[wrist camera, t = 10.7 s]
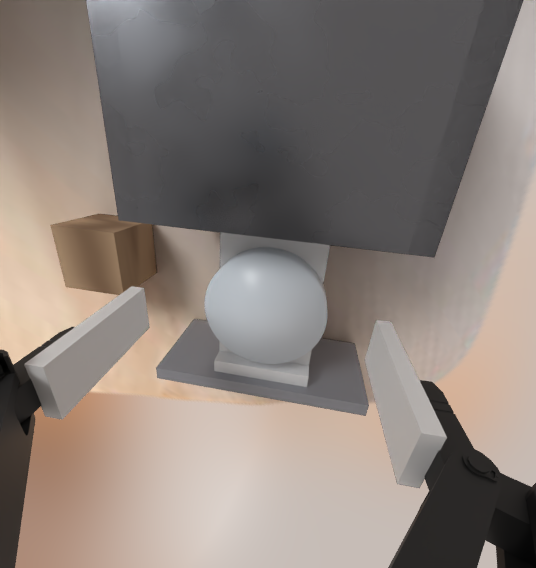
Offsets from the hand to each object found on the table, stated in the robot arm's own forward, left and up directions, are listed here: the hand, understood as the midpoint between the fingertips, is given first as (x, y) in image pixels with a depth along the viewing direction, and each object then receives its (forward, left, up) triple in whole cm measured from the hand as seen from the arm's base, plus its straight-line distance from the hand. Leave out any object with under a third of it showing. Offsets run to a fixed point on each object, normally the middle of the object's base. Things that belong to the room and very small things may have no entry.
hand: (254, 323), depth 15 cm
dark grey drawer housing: (0, +11, -9) cm, 15 cm away
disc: (0, -1, -4) cm, 4 cm away
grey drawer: (0, -1, -9) cm, 9 cm away
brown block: (-14, 0, -9) cm, 17 cm away
